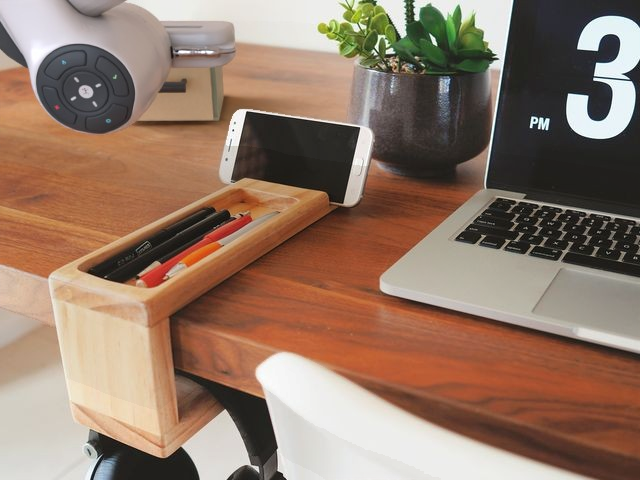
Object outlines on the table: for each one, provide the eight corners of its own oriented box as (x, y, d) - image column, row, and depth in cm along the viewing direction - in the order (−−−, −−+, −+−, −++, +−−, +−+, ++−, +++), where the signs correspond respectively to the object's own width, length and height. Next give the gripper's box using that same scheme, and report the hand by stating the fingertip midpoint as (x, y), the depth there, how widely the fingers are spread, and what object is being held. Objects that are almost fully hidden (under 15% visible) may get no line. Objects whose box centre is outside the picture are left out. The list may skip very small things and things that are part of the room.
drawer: (211, 129, 96) (206, 65, 92) (122, 130, 94) (114, 65, 90) (218, 97, 112) (214, 41, 108) (142, 97, 110) (136, 41, 106)
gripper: (233, 18, 67) (238, 1, 79) (2, 17, 65) (44, 0, 77) (237, 86, 70) (241, 60, 82) (16, 88, 68) (54, 61, 80)
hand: (144, 31), depth 80 cm, fingers open, 8 cm apart
